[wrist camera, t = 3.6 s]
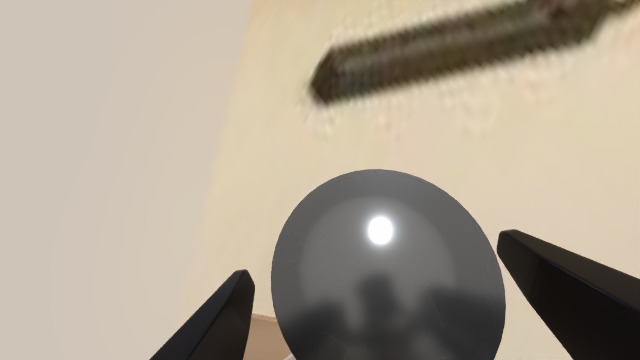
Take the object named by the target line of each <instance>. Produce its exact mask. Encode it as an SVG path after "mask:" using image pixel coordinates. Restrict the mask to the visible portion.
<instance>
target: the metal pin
mask: <svg viewBox="0 0 640 360" xmlns="http://www.w3.org/2000/svg"><path fill="white" fill-rule="evenodd" d="M271 292H272V300H273V307H274V311H275V315H276V318H277V322H278V325H279V327H280V330H281V333H282V335H283V338H284V340H285V342H286V343H287V345H288V347H289V349H290V351H291V353H292V354H293V356H294V357H295V359H296V360H494V358H495V355H496V353H497V350H498V348H499V345H500V342H501V338H502V334H503V329H504V324H505V310H506V303H505V289H504V284H503V279H502V274H501V270H500V267H499V264H498V261H497V258H496V255H495V253H494V251H493V249H492V247H491V244H490V242H489V240H488V238H487V237H486V235H485V234H484V232H483V231H482V229H481V227H480V226H479V224H478V223H477V222H476V221H475V219H474V218H473V217H472V216H471V215H470V213H469V212H468V211H467V210H466V209H465V208H464V207H463V206H462V205H461V204H460V203H459V202H458V201H457V200H455V199H454V198H453V197H451V196H450V195H449V194H448V193H446V192H445V191H443V190H442V189H440V188H438V187H437V186H435V185H434V184H432V183H430V182H427V181H425V180H423V179H421V178H419V177H416V176H413V175H410V174H407V173H402V172H398V171H393V170H382V169H371V170H361V171H354V172H350V173H347V174H343V175H340V176H338V177H336V178H333V179H331V180H329V181H327V182H325V183H324V184H322V185H320V186H319V187H317V188H316V189H315V190H313V191H312V192H310V193H309V194H308V195H307V196H306V197H305V198H304V199H303V200H302V201H301V202H300V203H299V204H298V205H297V207H296V208H295V209H294V210H293V212H292V213H291V215H290V216H289V218H288V219H287V221H286V223H285V225H284V227H283V229H282V231H281V233H280V235H279V238H278V241H277V244H276V247H275V251H274V256H273V261H272V271H271Z"/></svg>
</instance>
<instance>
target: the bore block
mask: <svg viewBox="0 0 640 360" xmlns="http://www.w3.org/2000/svg"><path fill="white" fill-rule="evenodd" d="M243 360H296V359H295V357H294V356H293V354H292V353H291V351H290V349H289V347H288V345H287V343H286V342H285V340H284V338H283V335H282V333H281V330H280V327H279V325H278V322H277V318H274V317H268V316H262V315H256V314H252V316H251V324H250V330H249V336H248V340H247V345H246V349H245V353H244V358H243Z"/></svg>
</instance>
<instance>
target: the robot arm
mask: <svg viewBox="0 0 640 360" xmlns="http://www.w3.org/2000/svg"><path fill="white" fill-rule="evenodd" d="M497 254H498V256H499V258H500V259H501V261H502V262H503V264H504V265H505V267H506V268H507V270H508V272H509V273H510V275H511V276H512V278H513V279H514V281H515V282H516V284H517V286H518V287H519V289H520V290H521V292H522V293H523V295H524V296H525V298H526V299H527V301H528V302H529V303H530V305H531V306H532V307H533V308H534V310H535V311H536V312H537V314H538V315H539V316H540V317H541V319H542V320H543V321H544V323H545V324H546V325H547V326H548V328H549V329H550V330H551V331H552V333H553V334H554V335H555V337H556V338H557V339H558V340H559V342H560V343H561V344H562V346H563V347H564V348H565V349H566V351H567V352H568V353H569V354H570V356H571V357H572V358H573V360H640V279H638V278H636V277H633V276H631V275H628V274H626V273H623V272H621V271H618V270H616V269H613V268H611V267H608V266H606V265H603V264H601V263H598V262H596V261H593V260H591V259H588V258H586V257H583V256H581V255H578V254H576V253H573V252H571V251H568V250H566V249H563V248H561V247H558V246H556V245H553V244H551V243H548V242H546V241H543V240H541V239H538V238H536V237H533V236H531V235H528V234H526V233H523V232H521V231H518V230H515V229H511V230H504V231H501V232H500V233H499V238H498V243H497ZM254 294H255V285H254V282H253V280H252V278H251V276H250V274H249V272H248V270H246V269H244V270H237V271H235V272H234V273H233V274H232V275H231V276H230V277H229V278H228V279H227V280H226V281H225V282H224V283H223V284H222V285H221V286H220V287H219V288H218V289H217V290H216V291H215V293H214V294H213V295H212V296H211V297H210V298H209V299H208V300H207V301H206V302H205V303H204V304H203V305H202V306H201V307H200V308H199V309H198V310H197V311H196V312H195V313H194V314H193V315H192V316H191V317H190V318H189V319H188V320H187V321H186V322H185V323H184V325H183V326H182V327H181V328H180V329H179V330H178V331H177V332H176V333H175V334H174V335H173V336H172V337H171V338H170V339H169V340H168V341H167V342H166V343H165V344H164V345H163V346H162V347H161V348H160V349H159V350H158V351H157V352H156V354H154V355H153V356H152V357H151V359H150V360H243V358H244V353H245V349H246V345H247V340H248V336H249V330H250V324H251V316H252V309H253V301H254Z"/></svg>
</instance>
